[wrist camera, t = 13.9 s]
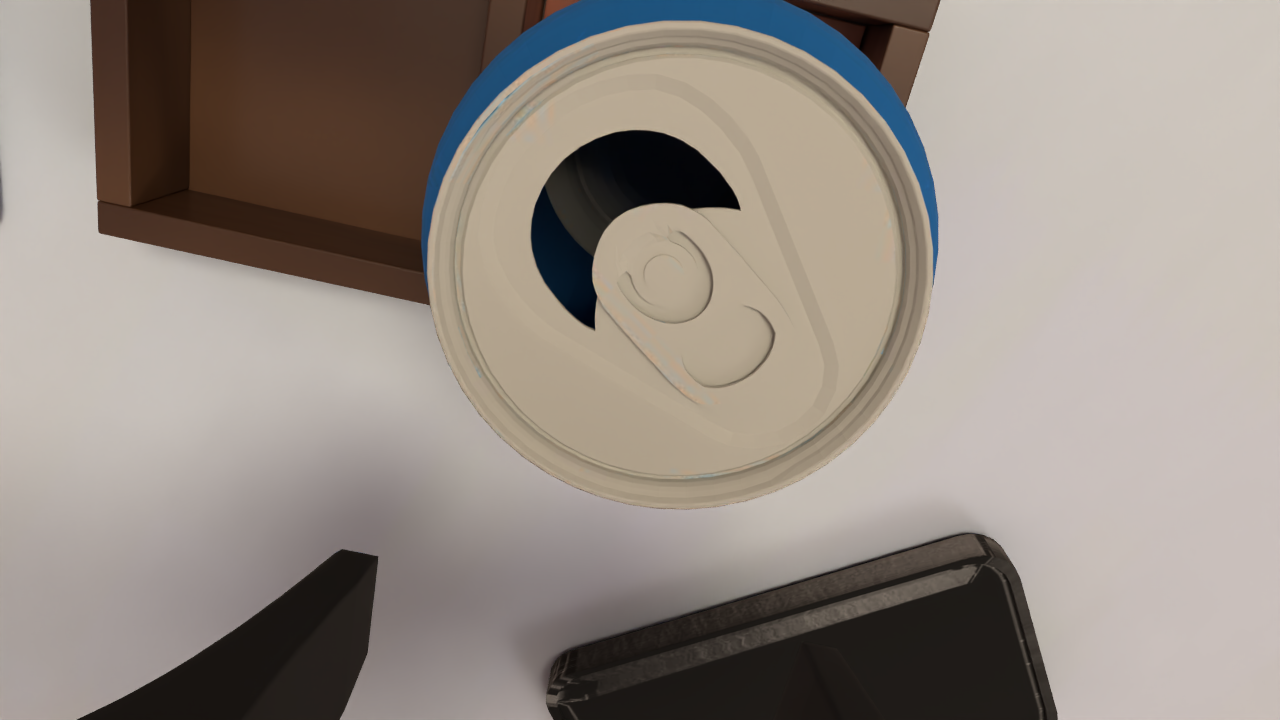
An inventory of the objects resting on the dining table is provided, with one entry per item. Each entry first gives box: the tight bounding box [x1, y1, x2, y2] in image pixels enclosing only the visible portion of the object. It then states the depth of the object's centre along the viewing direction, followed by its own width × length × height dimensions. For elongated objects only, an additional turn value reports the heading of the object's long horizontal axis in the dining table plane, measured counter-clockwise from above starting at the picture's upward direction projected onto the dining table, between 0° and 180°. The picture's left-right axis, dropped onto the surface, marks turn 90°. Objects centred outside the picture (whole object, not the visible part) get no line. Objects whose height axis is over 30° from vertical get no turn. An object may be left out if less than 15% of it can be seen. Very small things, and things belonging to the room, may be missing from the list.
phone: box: [546, 534, 1058, 720], centre depth 26 cm, size 8×1×15 cm
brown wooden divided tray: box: [90, 0, 940, 305], centre depth 19 cm, size 9×17×3 cm, turn 78°
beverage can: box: [421, 0, 938, 509], centre depth 15 cm, size 6×6×12 cm
